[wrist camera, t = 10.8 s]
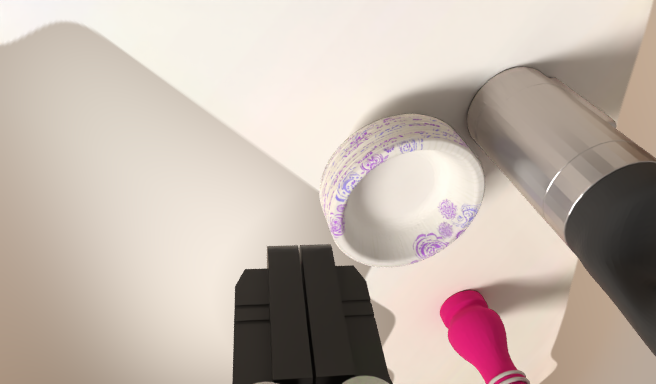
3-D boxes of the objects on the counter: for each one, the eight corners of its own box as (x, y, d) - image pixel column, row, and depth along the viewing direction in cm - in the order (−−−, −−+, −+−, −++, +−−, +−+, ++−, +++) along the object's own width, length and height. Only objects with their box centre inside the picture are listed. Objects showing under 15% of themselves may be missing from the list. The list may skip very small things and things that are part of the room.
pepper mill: (468, 279, 70) (554, 419, 54) (495, 300, 74) (582, 435, 58) (425, 311, 72) (497, 456, 56) (454, 330, 76) (528, 469, 60)
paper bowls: (414, 229, 62) (441, 277, 56) (291, 210, 56) (307, 262, 50) (478, 115, 55) (517, 156, 48) (344, 80, 49) (370, 122, 43)
